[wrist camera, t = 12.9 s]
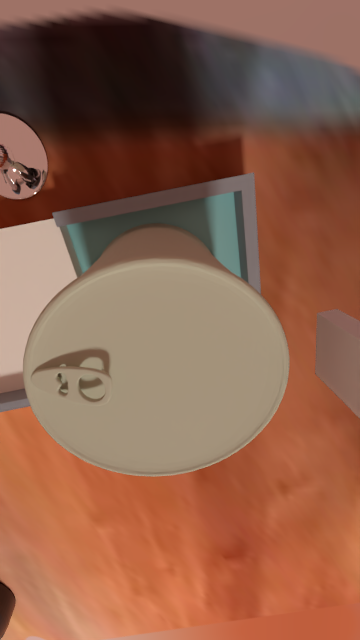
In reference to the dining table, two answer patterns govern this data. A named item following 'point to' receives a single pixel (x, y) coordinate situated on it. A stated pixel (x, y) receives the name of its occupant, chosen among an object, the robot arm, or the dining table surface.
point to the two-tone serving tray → (91, 240)
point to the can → (156, 358)
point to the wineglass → (20, 159)
